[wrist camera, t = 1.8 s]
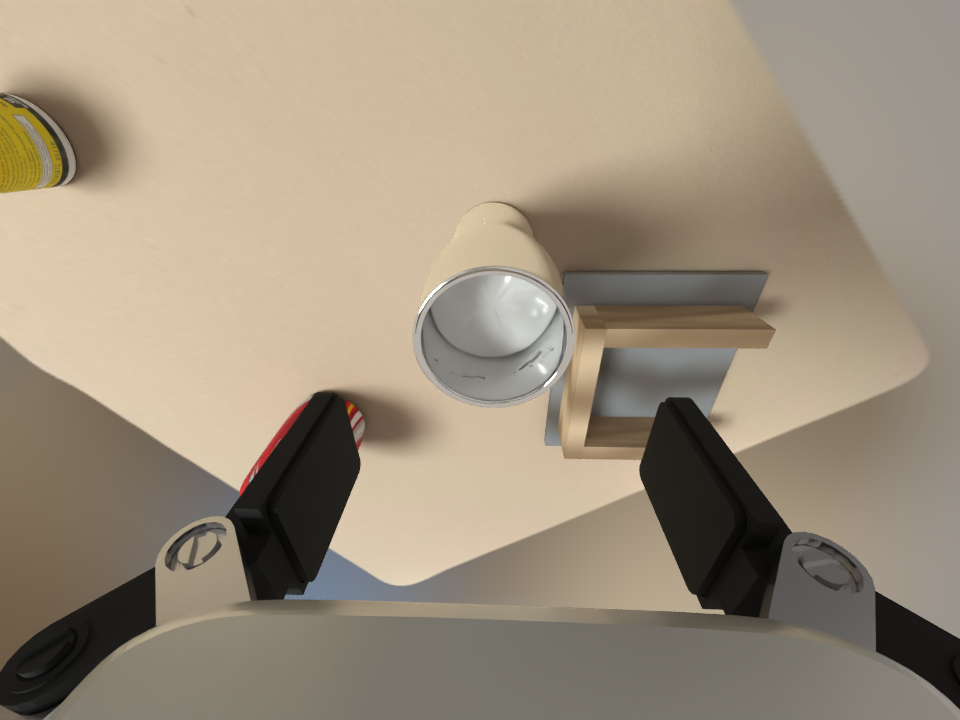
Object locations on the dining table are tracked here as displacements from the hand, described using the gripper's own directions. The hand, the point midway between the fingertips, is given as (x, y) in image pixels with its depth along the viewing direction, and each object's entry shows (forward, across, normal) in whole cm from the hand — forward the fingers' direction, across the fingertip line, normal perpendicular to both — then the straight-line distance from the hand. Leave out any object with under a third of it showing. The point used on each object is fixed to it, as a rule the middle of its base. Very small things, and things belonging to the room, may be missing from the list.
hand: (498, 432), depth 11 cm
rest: (+20, -13, +10) cm, 26 cm away
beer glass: (+20, 0, -1) cm, 20 cm away
